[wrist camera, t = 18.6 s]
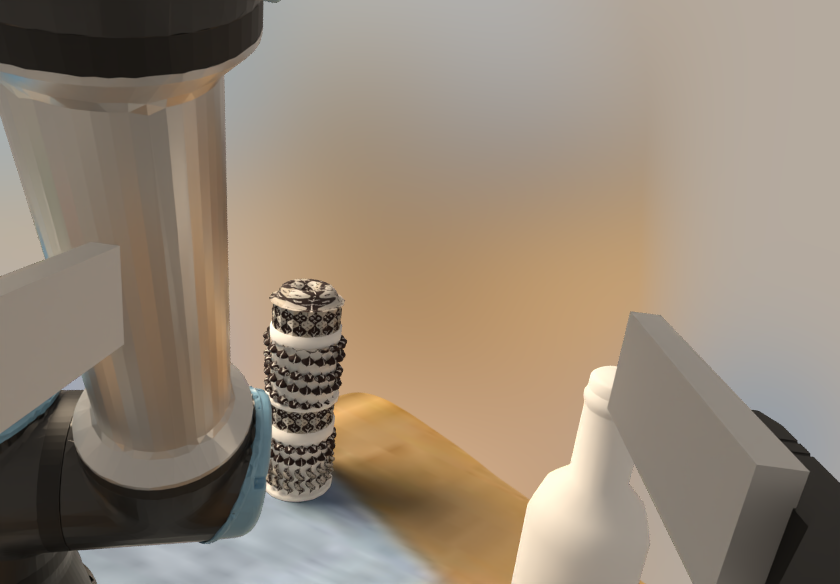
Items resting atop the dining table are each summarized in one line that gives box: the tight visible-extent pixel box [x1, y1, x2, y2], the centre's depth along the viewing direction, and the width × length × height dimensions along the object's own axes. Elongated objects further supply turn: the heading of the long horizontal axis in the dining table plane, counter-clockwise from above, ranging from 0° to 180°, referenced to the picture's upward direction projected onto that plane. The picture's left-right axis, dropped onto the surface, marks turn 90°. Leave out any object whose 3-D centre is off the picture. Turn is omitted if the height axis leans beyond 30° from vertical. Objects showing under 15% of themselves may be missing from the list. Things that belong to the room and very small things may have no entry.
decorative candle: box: [263, 279, 347, 502], centre depth 68 cm, size 9×9×25 cm
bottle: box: [511, 366, 650, 584], centre depth 40 cm, size 8×8×30 cm
